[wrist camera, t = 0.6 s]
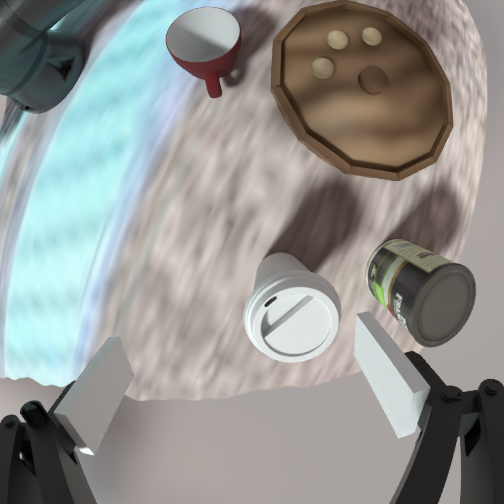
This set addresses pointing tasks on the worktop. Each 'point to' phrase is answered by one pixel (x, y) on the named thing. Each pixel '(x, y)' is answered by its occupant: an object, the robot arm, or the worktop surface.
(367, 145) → the ring tray
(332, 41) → the bead
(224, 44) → the mug
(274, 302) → the coffee cup
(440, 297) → the coffee can
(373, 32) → the bead
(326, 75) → the bead
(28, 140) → the worktop surface
